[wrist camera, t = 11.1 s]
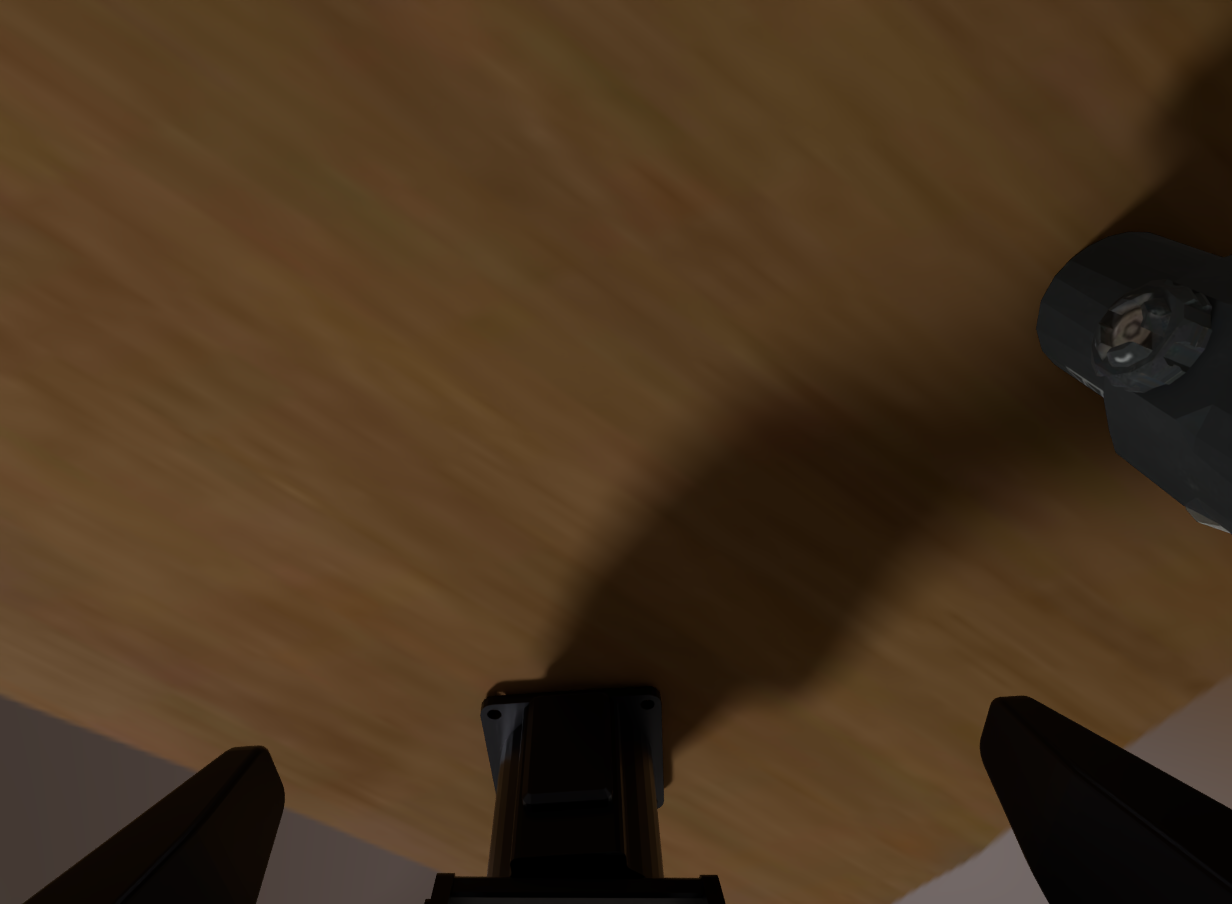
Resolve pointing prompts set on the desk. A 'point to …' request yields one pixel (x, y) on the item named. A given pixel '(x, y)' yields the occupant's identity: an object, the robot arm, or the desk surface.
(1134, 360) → the scope
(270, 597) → the desk surface
